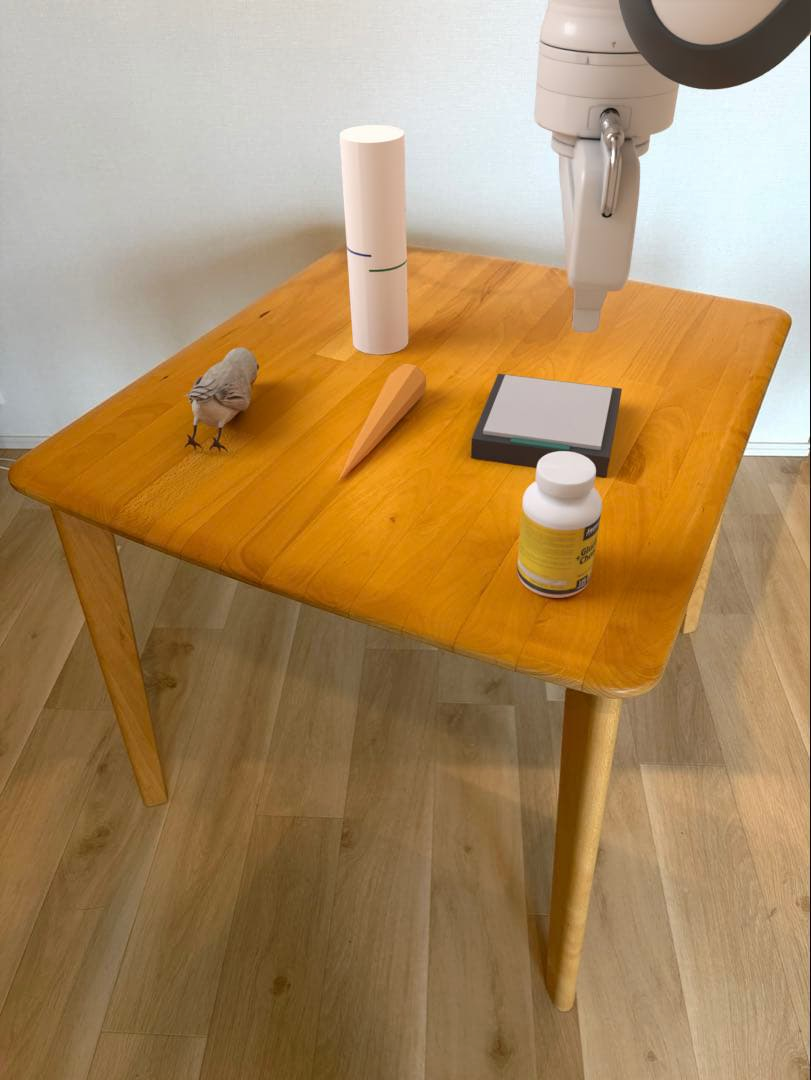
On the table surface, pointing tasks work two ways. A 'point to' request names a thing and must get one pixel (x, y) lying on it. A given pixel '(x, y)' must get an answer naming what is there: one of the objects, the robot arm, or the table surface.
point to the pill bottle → (559, 526)
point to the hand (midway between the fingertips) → (581, 299)
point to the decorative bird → (223, 392)
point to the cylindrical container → (376, 236)
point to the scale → (546, 421)
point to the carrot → (387, 410)
